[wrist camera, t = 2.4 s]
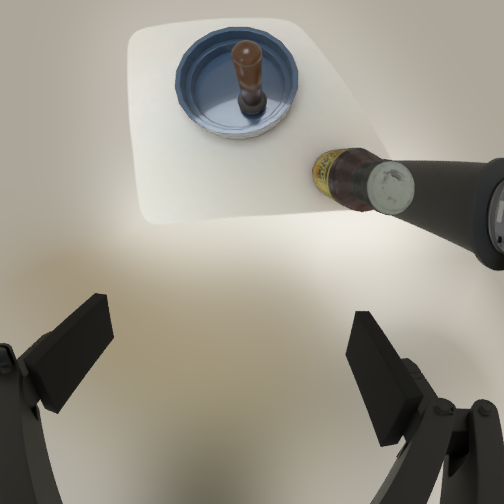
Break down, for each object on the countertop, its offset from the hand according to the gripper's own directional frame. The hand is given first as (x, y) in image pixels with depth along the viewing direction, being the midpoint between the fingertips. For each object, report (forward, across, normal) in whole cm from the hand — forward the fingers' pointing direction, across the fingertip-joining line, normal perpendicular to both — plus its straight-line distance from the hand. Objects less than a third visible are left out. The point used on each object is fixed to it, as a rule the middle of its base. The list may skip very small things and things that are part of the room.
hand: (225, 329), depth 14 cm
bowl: (+27, +2, -19) cm, 33 cm away
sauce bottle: (+27, -11, -8) cm, 30 cm away
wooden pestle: (+26, 0, -16) cm, 30 cm away
